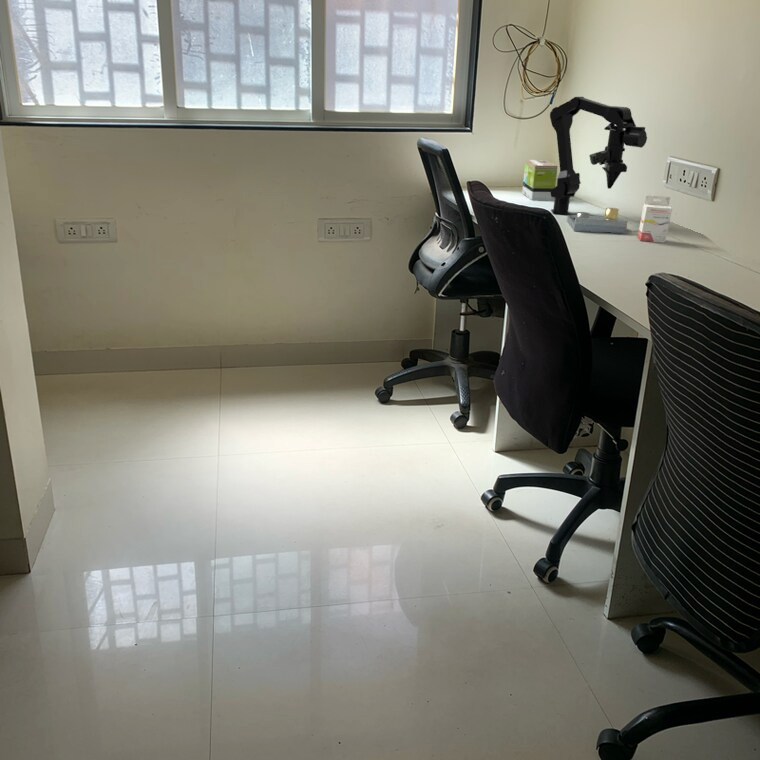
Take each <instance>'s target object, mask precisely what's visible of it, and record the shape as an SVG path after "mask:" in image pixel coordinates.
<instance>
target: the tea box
mask: <svg viewBox="0 0 760 760" xmlns="http://www.w3.org/2000/svg"><path fill="white" fill-rule="evenodd" d="M557 174H558V165H557V164H555V163H553V162H551V161H549V160H547V159H525V163H524V171H523V182H522V192H521V193H522V194H523V195H524V196H526V197H527V198H528V199H529V200H531V201H542V202H543V201H545V202H547V201H549V202H550V201H554V200H555V197H551V190H553V189H554V188H555V187H556V185H557V176H558V175H557Z"/></svg>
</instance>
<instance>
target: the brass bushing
mask: <svg viewBox="0 0 760 760" xmlns="http://www.w3.org/2000/svg"><path fill="white" fill-rule="evenodd" d="M619 211H620V209H619V208H616V207H606V208H605V212H604V217H605V218H604V219H608V220H617V218H619V217H618V216H619Z"/></svg>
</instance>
